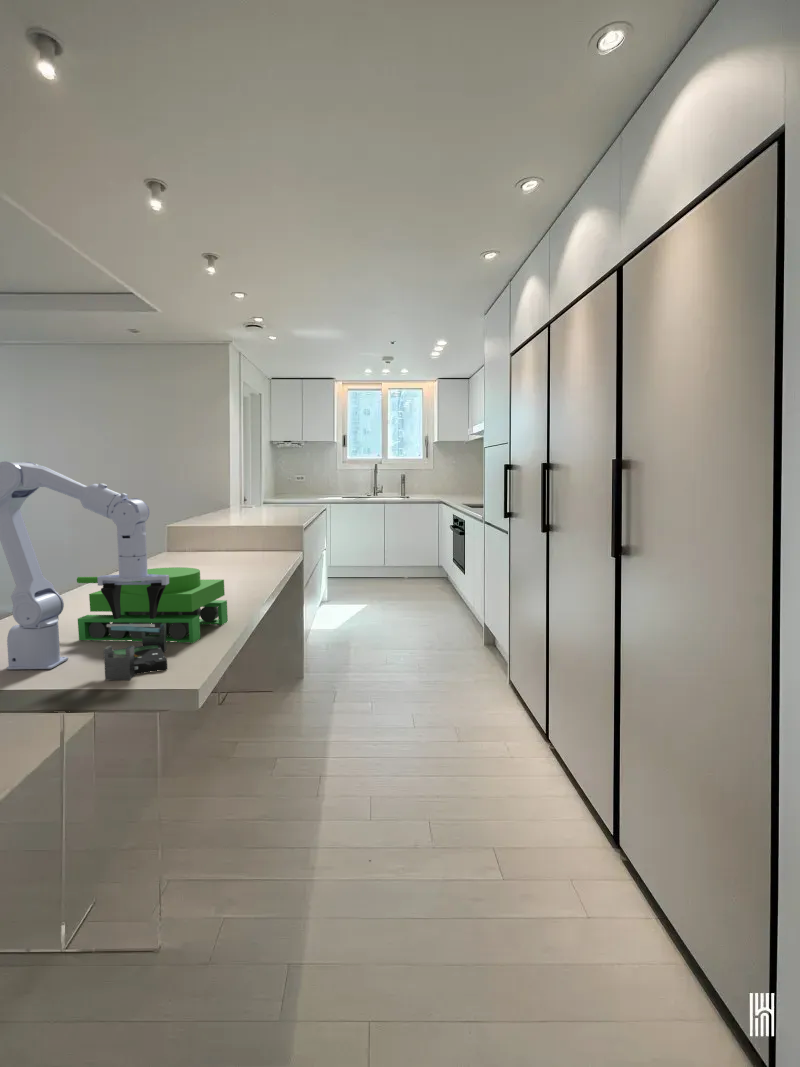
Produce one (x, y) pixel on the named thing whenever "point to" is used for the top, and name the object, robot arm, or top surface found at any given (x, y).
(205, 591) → the tank
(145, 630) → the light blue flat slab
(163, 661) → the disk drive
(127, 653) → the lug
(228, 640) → the top surface
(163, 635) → the hinge bracket
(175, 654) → the top surface
